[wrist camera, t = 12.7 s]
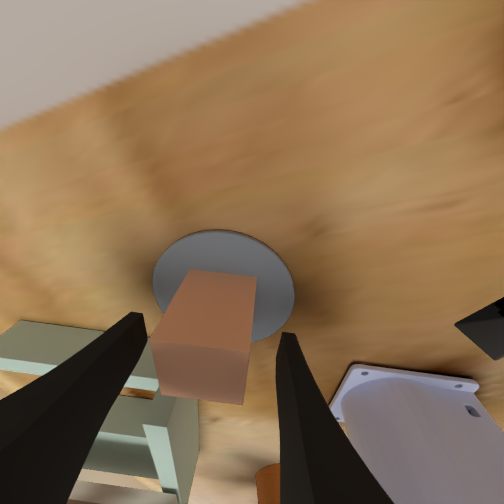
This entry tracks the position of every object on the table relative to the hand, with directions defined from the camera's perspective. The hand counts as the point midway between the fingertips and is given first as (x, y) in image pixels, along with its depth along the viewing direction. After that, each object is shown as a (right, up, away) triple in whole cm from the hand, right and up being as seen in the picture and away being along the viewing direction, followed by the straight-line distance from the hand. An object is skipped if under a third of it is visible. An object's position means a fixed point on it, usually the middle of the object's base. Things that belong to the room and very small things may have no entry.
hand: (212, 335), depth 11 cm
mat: (0, +2, +3) cm, 3 cm away
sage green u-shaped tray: (-10, -10, +11) cm, 18 cm away
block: (0, +1, +3) cm, 3 cm away
